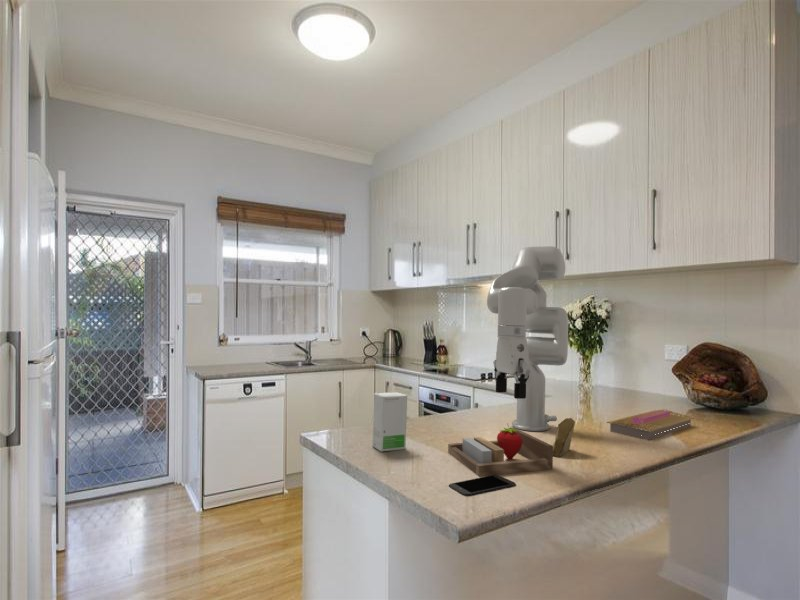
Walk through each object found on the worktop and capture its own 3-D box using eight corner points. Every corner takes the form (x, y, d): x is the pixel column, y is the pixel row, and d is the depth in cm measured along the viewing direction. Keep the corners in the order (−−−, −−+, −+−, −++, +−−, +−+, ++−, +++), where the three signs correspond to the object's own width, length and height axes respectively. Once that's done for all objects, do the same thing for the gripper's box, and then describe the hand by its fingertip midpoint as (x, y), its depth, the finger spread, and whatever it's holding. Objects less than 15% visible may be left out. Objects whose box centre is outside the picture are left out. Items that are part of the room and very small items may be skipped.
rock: (565, 452, 127) (589, 443, 132) (548, 423, 131) (572, 415, 136) (542, 466, 135) (566, 457, 139) (527, 438, 139) (551, 430, 144)
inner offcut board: (481, 455, 131) (481, 437, 131) (503, 469, 120) (504, 449, 120) (473, 455, 130) (473, 437, 130) (495, 470, 119) (495, 450, 119)
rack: (513, 447, 138) (513, 427, 138) (552, 469, 120) (552, 445, 120) (448, 452, 132) (448, 431, 132) (478, 476, 114) (479, 451, 114)
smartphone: (446, 486, 107) (446, 482, 107) (496, 476, 115) (496, 473, 115) (465, 499, 101) (465, 494, 101) (517, 487, 108) (518, 483, 108)
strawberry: (512, 465, 122) (513, 427, 122) (491, 457, 128) (492, 421, 128) (527, 461, 125) (528, 424, 126) (506, 454, 132) (506, 418, 132)
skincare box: (380, 452, 131) (382, 396, 131) (371, 446, 136) (372, 392, 137) (407, 449, 134) (408, 394, 135) (396, 442, 140) (397, 391, 141)
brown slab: (653, 419, 181) (653, 403, 181) (694, 427, 170) (694, 410, 170) (606, 432, 160) (606, 414, 160) (649, 442, 148) (650, 423, 149)
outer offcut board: (470, 455, 130) (470, 437, 130) (491, 470, 118) (491, 450, 119) (462, 456, 129) (462, 438, 129) (482, 471, 118) (482, 451, 118)
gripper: (542, 334, 120) (540, 400, 120) (507, 331, 137) (506, 389, 136) (516, 333, 118) (515, 401, 117) (484, 330, 135) (483, 390, 134)
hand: (510, 395), depth 127 cm, fingers open, 9 cm apart
